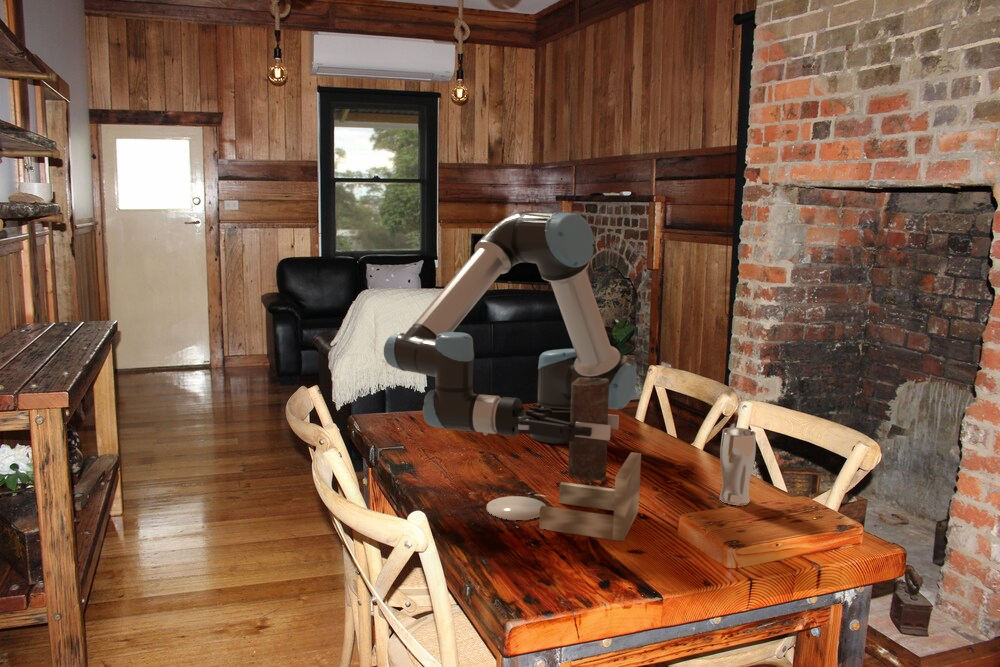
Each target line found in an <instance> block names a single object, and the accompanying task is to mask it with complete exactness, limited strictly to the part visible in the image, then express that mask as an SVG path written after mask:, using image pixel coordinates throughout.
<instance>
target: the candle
mask: <svg viewBox="0 0 1000 667" xmlns="http://www.w3.org/2000/svg"><path fill="white" fill-rule="evenodd" d="M608 400H609V380H608V379H602V378H584V377H583V378H578V379H576V380H575V381H574V382H572V387H571V413H570V423H574V426H575V423H576V422H584V423H594V424H604V425H608V414H609V409H608ZM607 452H608V440H601V439H592V438H583V437H575V435H574V441H569V444H568V466H567V475H568V477H570V478H571V479H575V480H579V481H583V482H596V481H600V482H603V481H606V480H607V461H608V458H607V456H608V453H607Z"/></svg>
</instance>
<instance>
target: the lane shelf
mask: <svg viewBox="0 0 1000 667" xmlns="http://www.w3.org/2000/svg"><path fill="white" fill-rule="evenodd" d="M641 463H642V453H641V452H640V453H639V452H631V451H630V453H629V455H628V456H627V458H626V459H625V461H624V462H623V464H622V466H621V467H620V468H619V471H618V472H617V473H616V475H615V479H614V480H615V482H614V488H610V487H602V486H595V485H587V484H581V483H579V484H578V483H571V482H564V481H561V482H560V483H559V494H558V495H559V496H558V498H559V499H558V502H559V504H562V505H571V506H577V507H578V506H579V507H584V508H591V509H601V510H607V511H613V515H611V514H603V513H597V512H590V511H582V510H575V509H574V510H573V509H568V508H567V509H566V508H562V507H561V508H560V507H555V506H554V507H553V506H547V505H546V506H541V508H540V517H539V519H538V520H539V524H538V525H539V526H538V527H539V528H538V529H540V530H544V529H546V531H550V532H551V531H552V532H560V533H565V534H572V535H579V536H585V537H591V538H593V537H594V538H598V539H604V540H605V539H606V540H612V541H619V542H625V540H626V537H627V535H628V533H629V532H630V529H631V527H632V525H633V523H634V521H635V519H636V517H637V515H638V513H639V505H640V504H639V503H640V483H641Z"/></svg>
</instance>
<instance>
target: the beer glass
mask: <svg viewBox="0 0 1000 667" xmlns="http://www.w3.org/2000/svg"><path fill="white" fill-rule="evenodd" d="M756 434H757V432H755V431H754V430H752V429H749V428H743V427H726V428H723V429H722V435H721V440H720V441H721V442H720V449H719V450H720V451H719V454H720V455H719V457H720V469H721V476H722V479H721V480H722V486H721V490H720V495H719V501H720V500H721V501H722V502H724V503H728V504H733V505H742V504H748V503H749V502H750V503H751V500H750V493H749V491H750V490H749V488H750V487H749V486H750V481H751V477H752V473H753V470H754V465H755V459H756V450H757V449H756V447H757V446H756V445H757V444H756ZM721 501H720V502H721ZM722 502H721V503H722ZM724 503H723V504H724ZM750 503H749V504H750Z"/></svg>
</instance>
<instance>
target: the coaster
mask: <svg viewBox="0 0 1000 667" xmlns="http://www.w3.org/2000/svg"><path fill="white" fill-rule="evenodd" d="M541 506H547V505H546V504H545V503H544V502H543V501H541V500H538V499H537V498H534V497H533V498H532V497H528V496H521V495H520V496H517V495H515V496H514V495H511V496H501V497H497V498H495V499H492V500H490V501H488V503H487V504H486V512H487V513H488V512H489V513H488V514H490V515H491V514H492V515H491V516H493V517H495V516H496V517H495V518H497V517H498V518H497V519H501V518H502V520H506V519H507V520H508V521H516V520H522V521H531V520H535V519H534V518H536V519H539V518H540V508H541ZM538 517H539V518H538ZM530 519H531V520H530ZM507 520H506V521H507Z"/></svg>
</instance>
